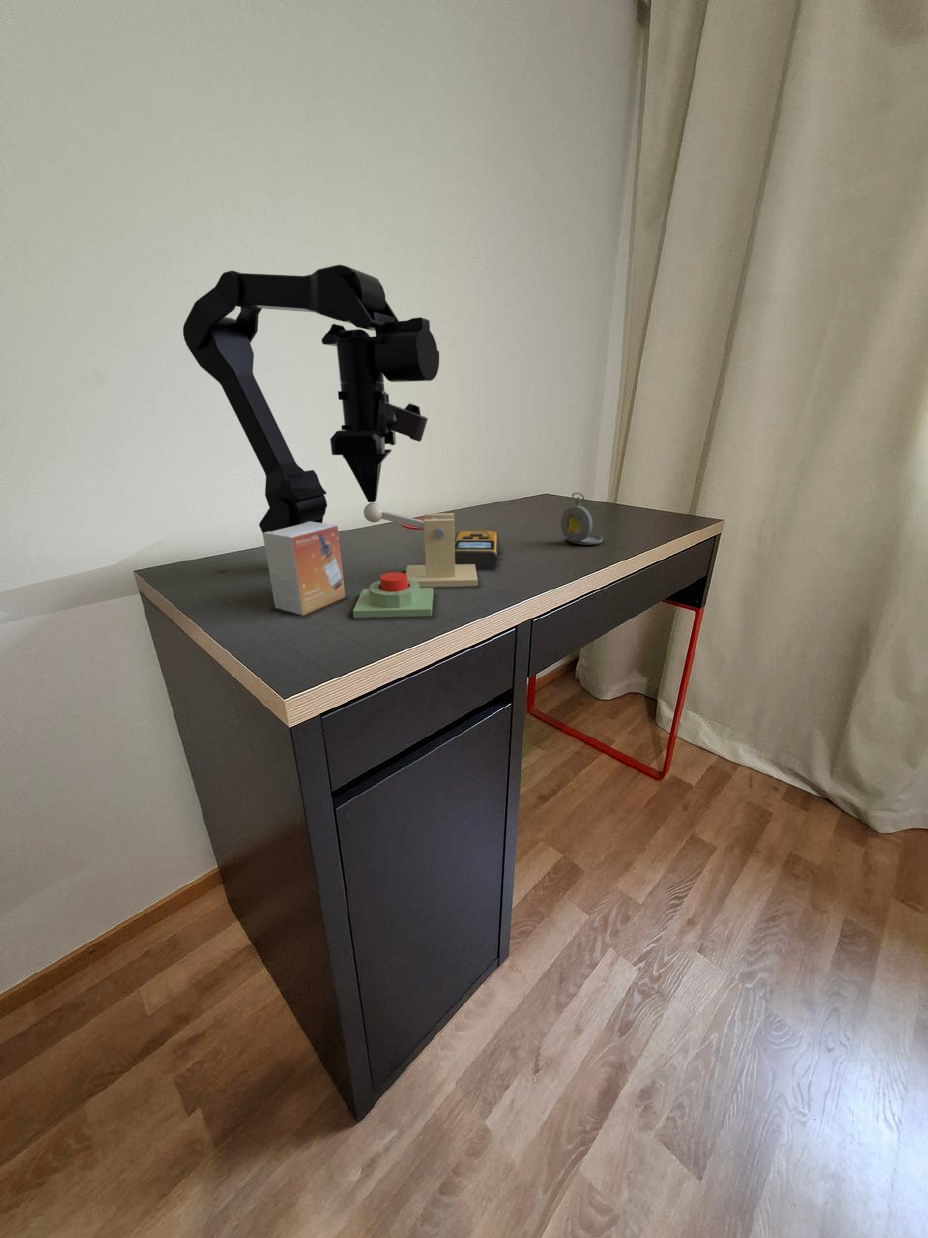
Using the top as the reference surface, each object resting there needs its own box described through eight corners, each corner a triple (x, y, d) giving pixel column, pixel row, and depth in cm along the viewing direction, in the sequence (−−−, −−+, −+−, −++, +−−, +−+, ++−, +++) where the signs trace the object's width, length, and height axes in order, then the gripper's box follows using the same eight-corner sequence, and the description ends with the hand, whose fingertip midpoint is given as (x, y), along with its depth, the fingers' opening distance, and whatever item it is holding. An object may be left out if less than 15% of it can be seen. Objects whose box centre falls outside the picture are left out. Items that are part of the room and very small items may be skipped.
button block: (353, 619, 62) (351, 597, 61) (363, 597, 70) (361, 577, 68) (431, 617, 63) (430, 595, 61) (433, 595, 70) (432, 575, 69)
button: (379, 593, 63) (378, 581, 63) (382, 584, 67) (381, 572, 66) (407, 593, 63) (406, 580, 63) (409, 584, 67) (408, 571, 66)
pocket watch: (601, 538, 98) (607, 487, 94) (602, 550, 91) (608, 495, 87) (560, 537, 100) (563, 486, 96) (558, 547, 92) (561, 493, 88)
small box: (302, 617, 63) (290, 537, 59) (274, 609, 66) (260, 532, 62) (347, 598, 69) (338, 524, 65) (319, 591, 72) (309, 520, 68)
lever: (360, 521, 71) (364, 502, 70) (363, 517, 73) (367, 499, 72) (446, 542, 73) (450, 524, 71) (446, 537, 75) (450, 520, 74)
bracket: (403, 588, 72) (399, 523, 69) (407, 572, 80) (404, 512, 76) (477, 587, 73) (477, 522, 69) (474, 570, 80) (474, 510, 76)
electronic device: (499, 546, 94) (499, 529, 93) (498, 571, 80) (499, 550, 79) (456, 546, 95) (455, 528, 94) (447, 570, 81) (447, 550, 79)
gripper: (418, 379, 57) (424, 514, 63) (425, 385, 74) (429, 490, 80) (322, 380, 56) (337, 515, 63) (351, 385, 73) (361, 491, 80)
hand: (372, 501), depth 71 cm, fingers closed
